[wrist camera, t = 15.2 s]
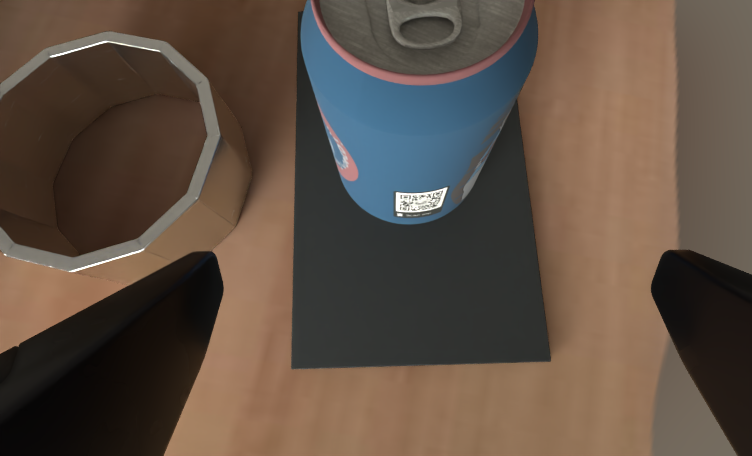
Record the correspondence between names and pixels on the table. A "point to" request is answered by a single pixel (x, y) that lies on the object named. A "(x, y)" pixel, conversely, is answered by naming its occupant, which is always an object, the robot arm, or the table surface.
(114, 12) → the table surface
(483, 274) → the rubber mat
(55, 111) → the steel holder
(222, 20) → the table surface
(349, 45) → the soda can
